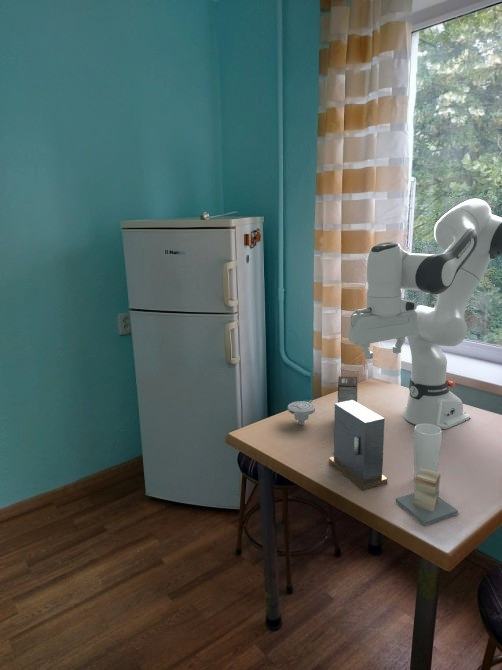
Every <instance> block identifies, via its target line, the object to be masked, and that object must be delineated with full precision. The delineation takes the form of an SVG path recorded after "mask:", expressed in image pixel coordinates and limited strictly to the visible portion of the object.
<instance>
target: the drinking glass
mask: <svg viewBox="0 0 502 670" xmlns="http://www.w3.org/2000/svg"><path fill="white" fill-rule="evenodd" d="M442 430H443V429H440V428H439V427H438V426H435V425H432V424H418V425H416V424H415V426H414V430H413V442H412V443H413V463H414V466H413V467H414V473H413V474H414V475H413V477H414V479H415V478H416V475H417V473H418V472H419V470H420V468H424V469H428V470H432V471H435V472H438V471H437V470H438V464H439V458H440V454H441V447H442V435H443V434H442V433H443V431H442Z"/></svg>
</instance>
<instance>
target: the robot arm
mask: <svg viewBox="0 0 502 670" xmlns="http://www.w3.org/2000/svg"><path fill="white" fill-rule="evenodd" d="M433 235H434V239H435V242H436V243H437V245H438V246H439V247H440V248H441V249H442V250H443V252H442V253H431V254H429V253H413V252H411V253H410V252H409V251H406V250H404V249H403V248H401V245H400V243H398V242H394V241H391V242H389V241H388V242H381V243H378V244H375V245H373V246H372V247H371V248H370V250H369V252H368V255H367V263H366V264H367V265H366V281H367V284H368V285H367V286H368V287H367V291H366V307H365V308H362V309H355V311H354V312H352V314H351V315H350V319H349V320H350V325H349V331H348V341H349V343H351V344H353V345H355V346H357V347H359V346H360V348H361V349H362V351H363V352H364V353H363V354H364V359H366V360H372V359H373V358H374V352H372V351H370V349H369V348H371V344H374V343H379V342H380V343H381V342H385V341H391V340H396V342H395V345H392V353H393V354H401V352H402V348H403V345H404V343H405V342H406V337H407V341H408V344H409V345H408V346H409V348H410V354H411V355H410V356H411V374H410V377H409V382H408V383H409V384H408V390H409V393H408V398H407V403H406V407H405V411H404V414H403V418H404V420H406V421H407V422H409V423H411V424H413V425H415V426H416V425H418V424H432V425H435V426H438V427H439V428H440V429H441V430H447V429H449V428H452V427H454V426H456V425H457V426H458V425H459V424H461V423H463V422H465V420H466V421H468V420H470V419H471V415H470V414H469V413H468V412H467V411H466V410H464V403H463V401H462V399H460V398H459V396H457V395H456V394H454V393H453V392H451V391H450V388H453V389H454V388H455V387H456V383H455V381H452V380H447V368H448V365H447V364H448V359H447V357H446V355H445V354H444V352H443V351H442V348H441V346H442V347H443V346H444V347H457V346H458V345H460V344H461V343H462V342H463V341H464V340H465V338H466V336H467V334H468V326H467V322H466V320H465V314H466V308H467V306H468V302H469V301H470V298H471V297H472V295H473V294H474V292H475V291H476V290H477V287H478V285H479V284H480V282H481V280H482V279H483V277H484V275H485V273H486V271H487V269H488V266H489V265H490V262H491V260H492V259H493V260H494V259H496V258H497V257H498V256H499V257H500V256H502V217H501V216H498V215H495V214H492V210H491V207H490V205H489V204H488V203H487V202H486V201H485V200H482V199H480V198H470V199H467V200H465V201H463V202H460V203H459V204H457V205H456V206H454V207H453V208H451V209H450V210H449V211H447V212H446V213H445V214H443V215H442V216H441V217H440V218H439V220H437V222H436V223H435V225H434V228H433ZM401 289H402V290H408V291H415V292H416V291H417V292H423V293H429V294H432V295H437V300H436V303H435V305H434V307H430V306H427V305H418V303H417V302H416V301H412V300H409V299H405V298H403V297H402V296H403V294H402V290H401ZM449 387H450V388H449ZM469 418H470V419H469Z"/></svg>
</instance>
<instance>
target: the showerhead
mask: <svg viewBox="0 0 502 670" xmlns="http://www.w3.org/2000/svg"><path fill="white" fill-rule="evenodd" d="M312 402H313V400H312V399H310V400H309V401H306V400H305V401H303V400H302V401H301V400H299V401H292V402H291V403H289V404H288V405H287V411H288V413H290V414H292V415H294V416H293V417H294V419H295V420H297V422H298V425H305V422H306V420H307V421H308V420H309V417H310V415H312V414H314V413H315V412H316V405H315V404H314V403H312Z"/></svg>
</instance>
